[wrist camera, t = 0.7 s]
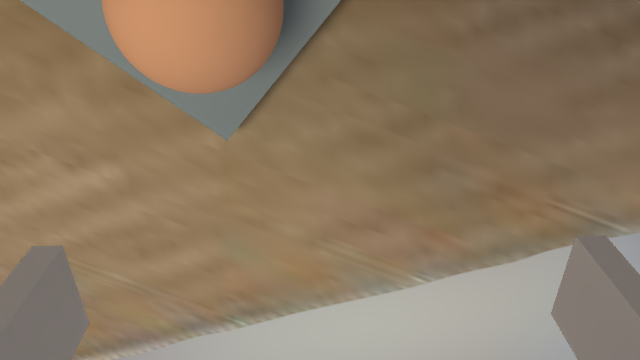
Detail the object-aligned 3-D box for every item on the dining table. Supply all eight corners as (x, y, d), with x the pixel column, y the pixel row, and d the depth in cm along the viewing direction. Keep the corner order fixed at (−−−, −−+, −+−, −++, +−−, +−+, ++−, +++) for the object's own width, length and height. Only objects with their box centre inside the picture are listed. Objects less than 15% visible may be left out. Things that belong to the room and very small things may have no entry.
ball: (277, -109, 29) (256, -100, 21) (298, 54, 34) (288, 114, 26) (116, -90, 30) (32, -75, 21) (160, 67, 35) (107, 129, 27)
